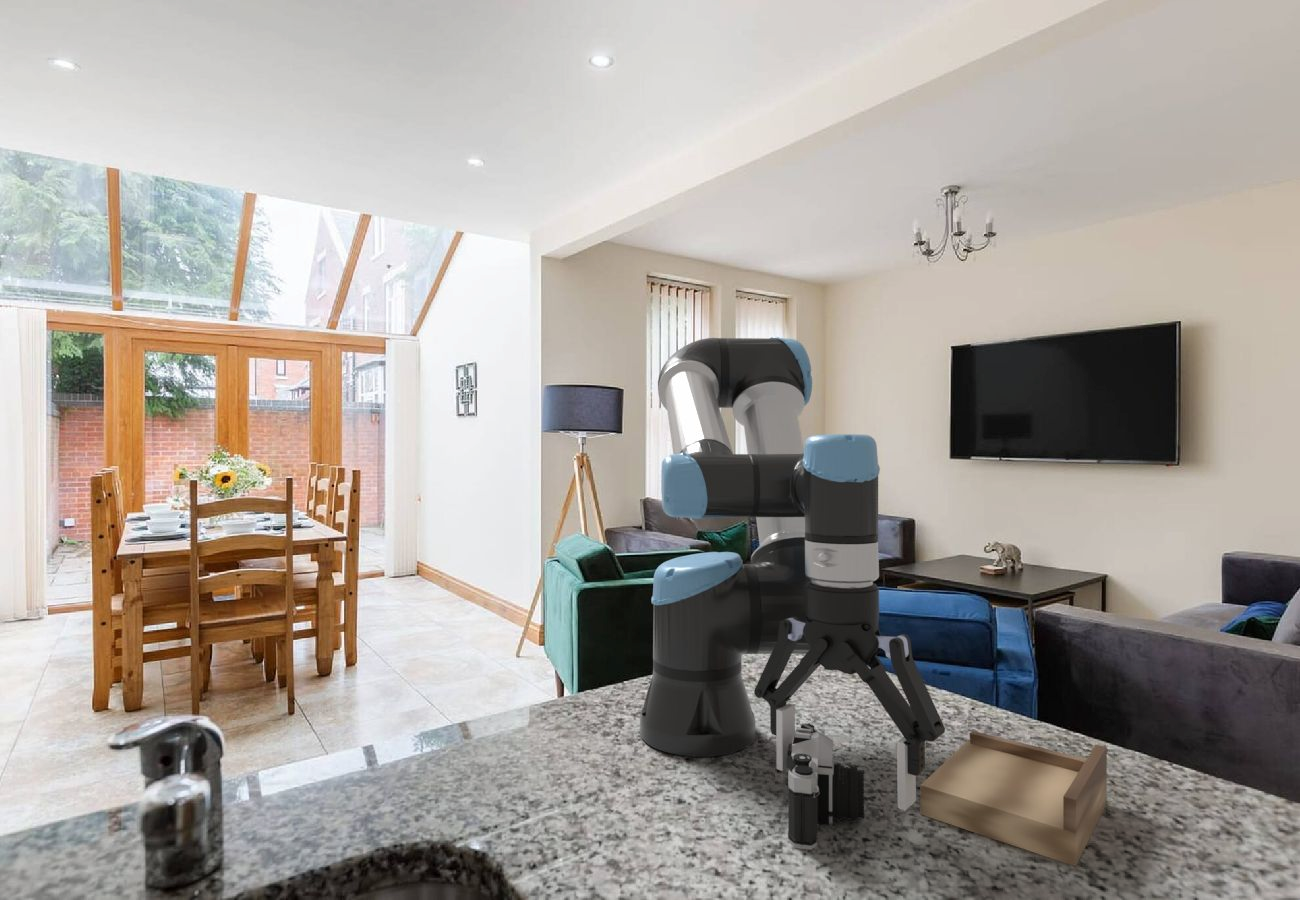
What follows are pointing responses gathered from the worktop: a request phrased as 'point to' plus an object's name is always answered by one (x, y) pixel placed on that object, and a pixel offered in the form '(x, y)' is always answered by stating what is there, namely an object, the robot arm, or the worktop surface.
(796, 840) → the camera
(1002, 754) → the wooden corner tray
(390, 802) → the worktop surface
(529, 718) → the worktop surface
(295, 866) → the worktop surface
